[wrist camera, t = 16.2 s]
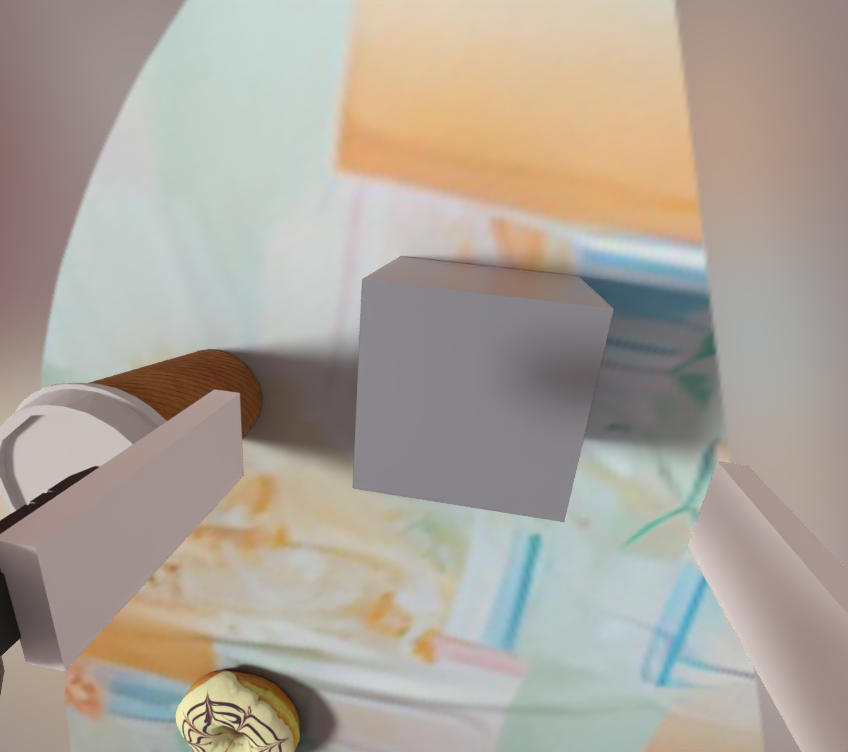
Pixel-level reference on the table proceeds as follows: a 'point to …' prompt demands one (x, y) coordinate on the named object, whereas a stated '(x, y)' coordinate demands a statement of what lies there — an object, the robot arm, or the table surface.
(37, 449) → the disposable coffee cup
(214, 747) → the decorated donut
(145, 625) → the table surface
